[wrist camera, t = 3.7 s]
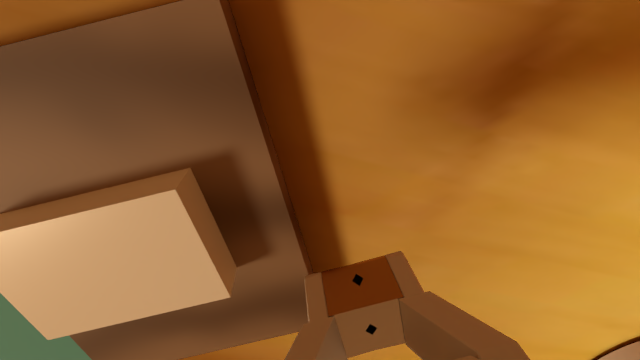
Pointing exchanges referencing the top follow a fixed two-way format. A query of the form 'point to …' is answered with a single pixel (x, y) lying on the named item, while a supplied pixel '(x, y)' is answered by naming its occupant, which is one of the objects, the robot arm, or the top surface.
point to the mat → (31, 339)
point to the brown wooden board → (159, 159)
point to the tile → (114, 255)
